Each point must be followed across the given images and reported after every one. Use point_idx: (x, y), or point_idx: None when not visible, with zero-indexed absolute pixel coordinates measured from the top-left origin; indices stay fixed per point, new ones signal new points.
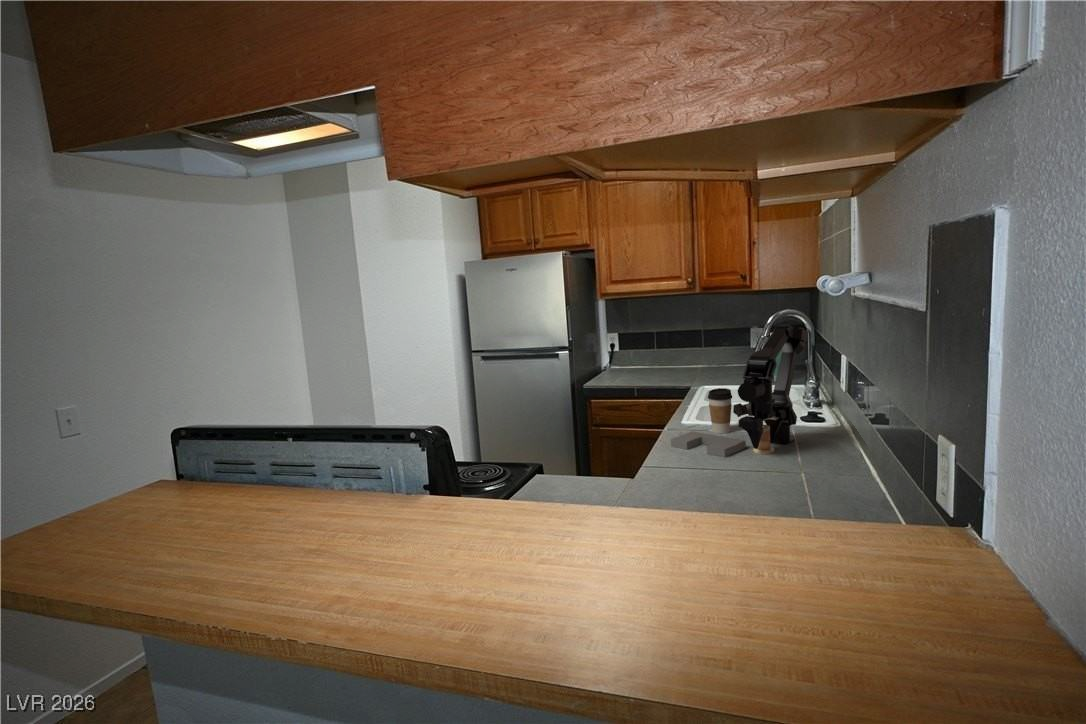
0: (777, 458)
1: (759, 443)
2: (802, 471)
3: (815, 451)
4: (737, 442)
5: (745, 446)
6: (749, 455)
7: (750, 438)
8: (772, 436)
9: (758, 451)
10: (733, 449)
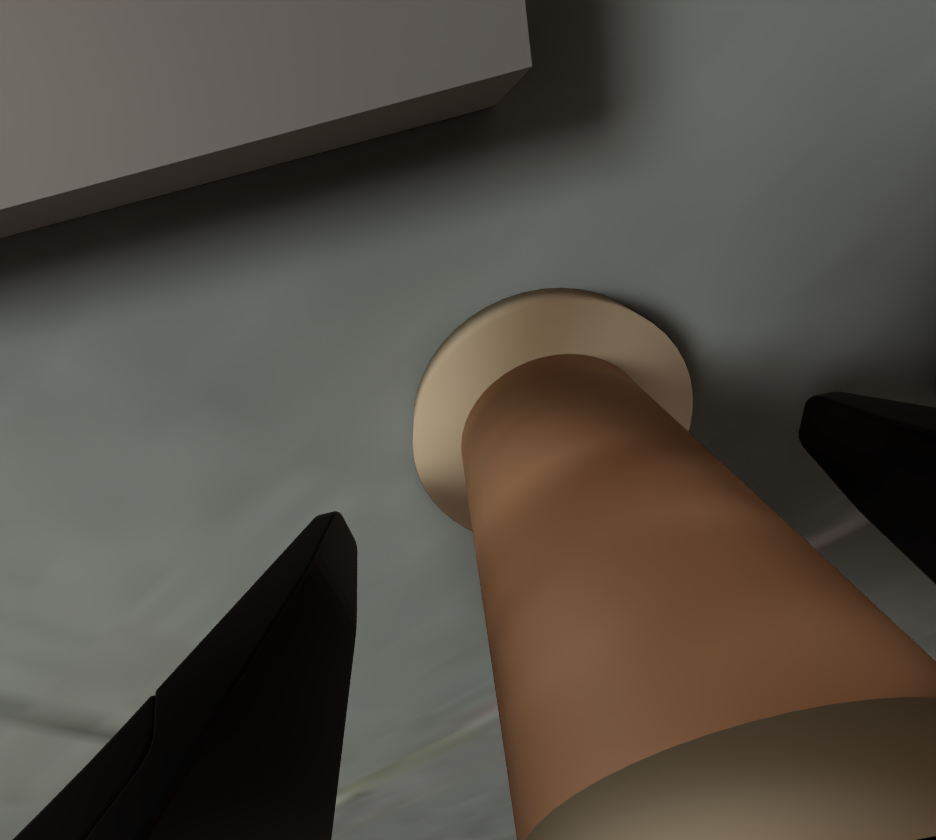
0: (447, 619)
1: (473, 525)
2: (362, 787)
3: None
4: (186, 55)
5: (493, 103)
6: (272, 435)
7: (164, 695)
8: (886, 510)
9: (419, 468)
10: (7, 225)
